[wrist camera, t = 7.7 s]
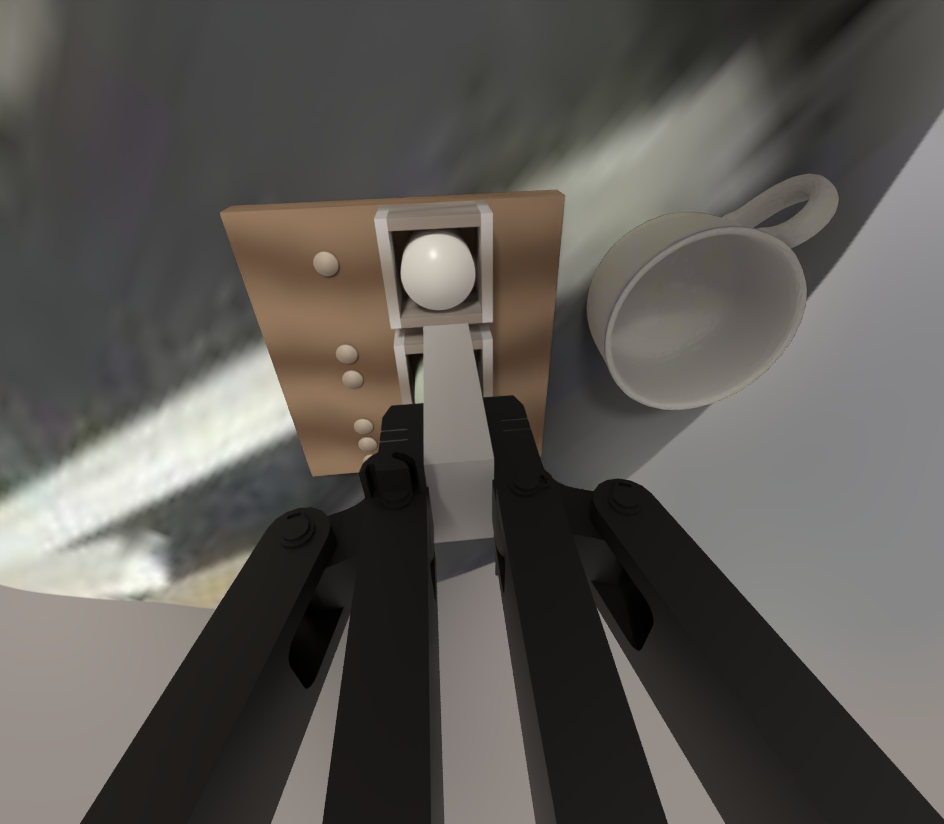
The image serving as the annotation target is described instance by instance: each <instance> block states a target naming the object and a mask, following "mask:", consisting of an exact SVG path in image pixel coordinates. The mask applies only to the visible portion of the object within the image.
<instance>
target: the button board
mask: <svg viewBox="0 0 944 824" xmlns="http://www.w3.org/2000/svg"><path fill="white" fill-rule="evenodd" d="M564 201H565V195H564V194H562V193H561V192H559V191H558V190H543V191H522V192H502V193H482V194H462V195H442V196H421V197H401V198H381V199H361V200H340V201H320V202H300V203H280V204H259V205H239V206H230V207H229V208H227V209H225V210H223V211H222V212H220V215H221V218H222V221H223V224H224V227H225V230H226V232H227V235H228V238H229V241H230V244H231V247H232V249H233V252H234V255H235V258H236V261H237V264H238V266H239V269H240V272H241V275H242V278H243V281H244V283H245V286H246V289H247V292H248V295H249V298H250V300H251V303H252V306H253V309H254V312H255V315H256V317H257V320H258V323H259V326H260V329H261V332H262V334H263V337H264V340H265V343H266V346H267V349H268V351H269V354H270V357H271V360H272V363H273V366H274V368H275V371H276V374H277V377H278V380H279V383H280V385H281V388H282V391H283V394H284V397H285V400H286V402H287V405H288V408H289V411H290V414H291V417H292V419H293V422H294V425H295V428H296V431H297V434H298V436H299V439H300V442H301V445H302V448H303V451H304V453H305V456H306V459H307V462H308V465H309V468H310V470H311V473H312V476H322V475H334V474H345V473H357V472H359V471H360V468H361V466H362V464H363V463H364V462H365V461H366V460H367V459H368V458H369V457H370V456H372V455H374V454H376V453H378V449H379V443H380V433H381V424H382V417H383V416H384V414H385V413H386V412H387V410H388V409H389V408H390V406H391V405H404V404H415V369H416V365H417V363H418V361H419V359H420V358H421V356H422V355H423V326H435V325H451V324H466V323H468V325H469V330H470V335H471V341H472V346H473V351H474V356H475V362H476V367H477V372H478V377H479V382H480V388H481V393H482V397H494V396H507V395H514V396H515V397H516V398H517V399H518V400H519V401H520V402H521V403H522V404H523V405H524V408H525V411H526V414H527V418H528V420H529V424H530V427H531V430H532V433H533V436H534V439H535V443H536V446H537V449H538V452H539V455H540V457H541V452H542V441H543V430H544V419H545V408H546V398H547V387H548V376H549V365H550V354H551V343H552V332H553V321H554V310H555V299H556V289H557V278H558V267H559V256H560V245H561V234H562V223H563V212H564ZM440 228H456V229H457V230H458V231H459V232H460V233H461V234H462V235H463V236H464V238H465V239H466V241H467V243H468V246H469V249H470V252H471V256H472V259H473V262H474V266H475V282H474V285H473V288H472V290H471V292H470V294H469V295H468V296H467V298H466V299H465V300H464V301H463V302H461V303H460V304H459V305H457V306H455V307H453V308H450V309H446V310H431V309H427V308H425V307H422V306H420V305H419V304H417V303H416V302H414V301H413V300H412V299H411V298H410V297H409V295H408V294H407V292H406V291H405V289H404V287H403V284H402V280H401V264H402V256H403V249H404V245H405V242H406V240H407V238H408V237H409V235H410V234H411V233H412V232H413V231H414V230H421V229H440Z"/></svg>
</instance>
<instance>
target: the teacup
mask: <svg viewBox="0 0 944 824" xmlns="http://www.w3.org/2000/svg"><path fill="white" fill-rule="evenodd" d="M806 200H808V202H807V204H806V205H805V206H804V207H803V208H802V209H801V210H800V211H799V212H798V213H797V214H796V215H794V216H793V217H792V218H791V219H789V220H788V221H786V222H784V223H781V224H779V225H776V226H772V227H761V228H757V229H755V228H754V227H755V226H757V225H758V224H760V223H761V222H763V221H764V220H766V219H767V218H769V217H770V216H772V215H773V214H775V213H777V212H779V211H781V210H783V209H785V208H786V207H789V206H791V205H794V204H796V203H799V202H803V201H806ZM838 201H839V197H838V193H837V190H836V188H835V186H834V185H833V184H832V183H831V182H830V181H829V180H828V179H826V178H825V177H823V176H821V175H816V174H804V175H799V176H795V177H792V178H789V179H787V180H785V181H782V182H780V183H778V184H776V185H774V186H772V187H770V188H769V189H767V190H766V191H764V192H763V193H761V194H760V195H758V196H756V197H755V198H754V199H752V200H751V201H749V202H748V203H746V204H745V205H743V206H742V207H740V208H739V209H738V210H736V211H733V212H731V213H728V214H725V215H724V216H723V217H717V216H713V215H709V214H704V213H697V212H680V213H672V214H667V215H663V216H660V217H657V218H655V219H652V220H649V221H647V222H645V223H643V224H641V225H639V226H638V227H636V228H634V229H633V230H631V231H630V232H628V233H627V234H626V235H625V236H623V237H622V238H621V239H620V240H619V241H618V242H617V243H616V244H615V245H614V246H613V247H612V248H611V249H610V250H609V252H608V253H607V254H606V255H605V256H604V258H603V260H602V261H601V263H600V264H599V266H598V268H597V270H596V272H595V274H594V276H593V279H592V281H591V285H590V288H589V292H588V298H587V319H588V324H589V328H590V331H591V334H592V337H593V339H594V342H595V344H596V346H597V348H598V350H599V351H600V353H601V355H602V357H603V359H604V360H605V362H606V364H607V367H608V369H609V372H610V374H611V376H612V378H613V379H614V381H615V383H616V384H617V385H618V386H619V387H620V388H621V390H622V391H623V392H624V393H625V394H627V395H628V396H629V397H630V398H632V399H634V400H636V401H637V402H639V403H642V404H644V405H646V406H649V407H654V408H658V409H663V410H683V409H691V408H697V407H701V406H704V405H708V404H712V403H715V402H717V401H720V400H722V399H725V398H727V397H728V396H731V395H733V394H735V393H737V392H739V391H741V390H742V389H744V388H745V387H746V386H748V385H750V384H751V383H753V382H754V381H755V380H756V379H758V378H759V377H760V376H761V375H762V374H763V373H765V372H766V371H767V370H768V369H769V368H770V367H771V365H772V364H773V363H774V362H775V361H776V360H777V359H778V358H779V357H780V356H781V355H782V354H783V352H784V351H785V349H786V348H787V347H788V346H789V344H790V342H791V341H792V339H793V338H794V336H795V334H796V331H797V329H798V327H799V325H800V323H801V320H802V317H803V313H804V310H805V306H806V297H807V287H806V281H805V277H804V273H803V269H802V267H801V265H800V263H799V260H798V258H797V256H796V255H795V253H794V252H793V251H792V250H791V248H793V247H796V246H798V245H800V244H802V243H803V242H805V241H807V240H808V239H810V238H811V237H813V236H814V235H816V234H817V233H818V232H819V231H820V230H821V229H823V228H824V227H825V226H826V225H827V224H828V223H829V222H830V220H831V219H832V217H833V216H834V214H835V213H836V210H837V207H838Z"/></svg>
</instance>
